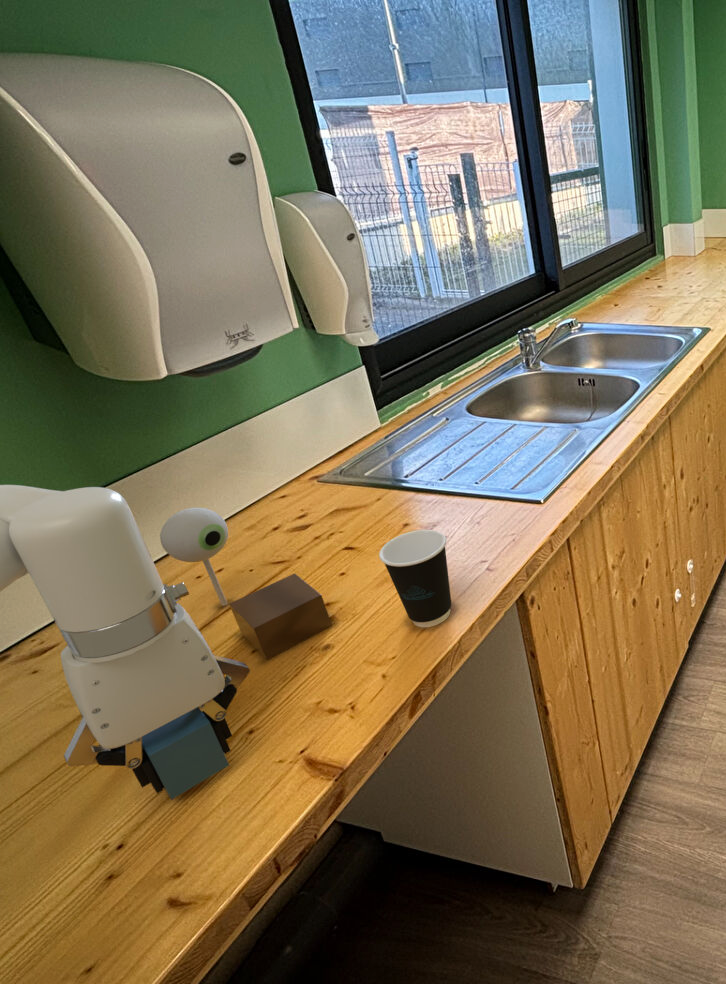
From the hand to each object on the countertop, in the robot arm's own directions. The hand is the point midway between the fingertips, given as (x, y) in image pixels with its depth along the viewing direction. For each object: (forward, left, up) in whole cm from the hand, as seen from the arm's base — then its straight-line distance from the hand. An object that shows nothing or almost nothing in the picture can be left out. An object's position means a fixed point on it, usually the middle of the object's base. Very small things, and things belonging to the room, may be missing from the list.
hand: (189, 763), depth 70 cm
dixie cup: (+28, +4, -2) cm, 29 cm away
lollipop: (+12, +30, -2) cm, 32 cm away
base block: (+15, +17, -2) cm, 23 cm away
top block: (0, 0, -1) cm, 1 cm away
